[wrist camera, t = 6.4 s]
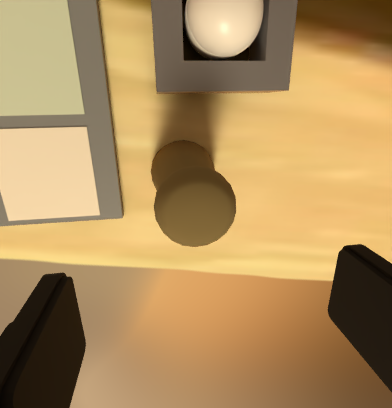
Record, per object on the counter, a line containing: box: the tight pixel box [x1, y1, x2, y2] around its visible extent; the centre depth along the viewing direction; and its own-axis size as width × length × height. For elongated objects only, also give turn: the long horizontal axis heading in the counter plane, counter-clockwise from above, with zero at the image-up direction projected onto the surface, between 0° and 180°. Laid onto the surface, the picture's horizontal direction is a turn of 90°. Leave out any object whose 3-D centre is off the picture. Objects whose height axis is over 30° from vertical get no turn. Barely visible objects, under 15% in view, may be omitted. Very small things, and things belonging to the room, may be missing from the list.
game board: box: [0, 0, 124, 226], centre depth 22 cm, size 12×18×1 cm, turn 1°
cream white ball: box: [184, 0, 264, 61], centre depth 19 cm, size 5×5×5 cm
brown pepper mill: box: [151, 140, 236, 247], centre depth 21 cm, size 6×6×11 cm
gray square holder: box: [151, 0, 297, 94], centre depth 20 cm, size 10×10×4 cm
